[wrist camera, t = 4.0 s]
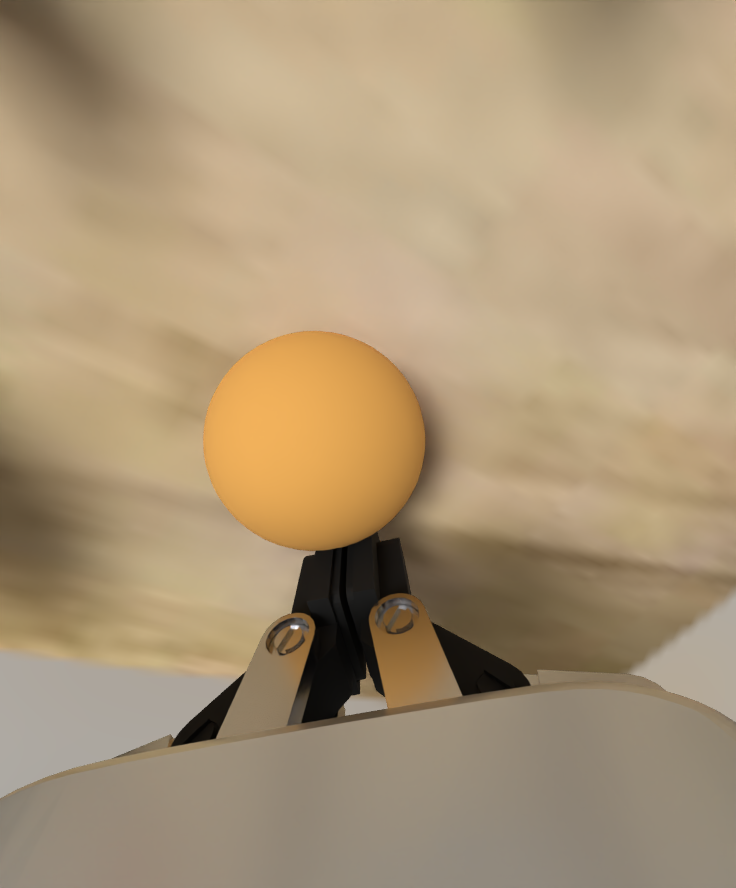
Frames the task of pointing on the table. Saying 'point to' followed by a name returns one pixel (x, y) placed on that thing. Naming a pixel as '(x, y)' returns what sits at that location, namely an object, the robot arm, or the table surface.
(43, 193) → the table surface
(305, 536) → the ball
